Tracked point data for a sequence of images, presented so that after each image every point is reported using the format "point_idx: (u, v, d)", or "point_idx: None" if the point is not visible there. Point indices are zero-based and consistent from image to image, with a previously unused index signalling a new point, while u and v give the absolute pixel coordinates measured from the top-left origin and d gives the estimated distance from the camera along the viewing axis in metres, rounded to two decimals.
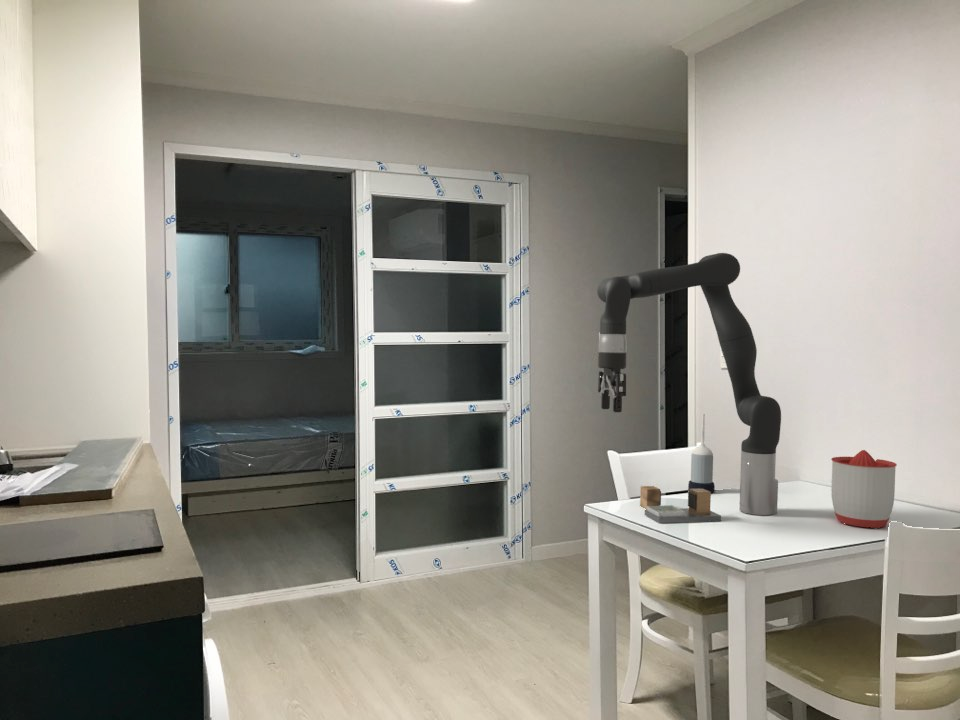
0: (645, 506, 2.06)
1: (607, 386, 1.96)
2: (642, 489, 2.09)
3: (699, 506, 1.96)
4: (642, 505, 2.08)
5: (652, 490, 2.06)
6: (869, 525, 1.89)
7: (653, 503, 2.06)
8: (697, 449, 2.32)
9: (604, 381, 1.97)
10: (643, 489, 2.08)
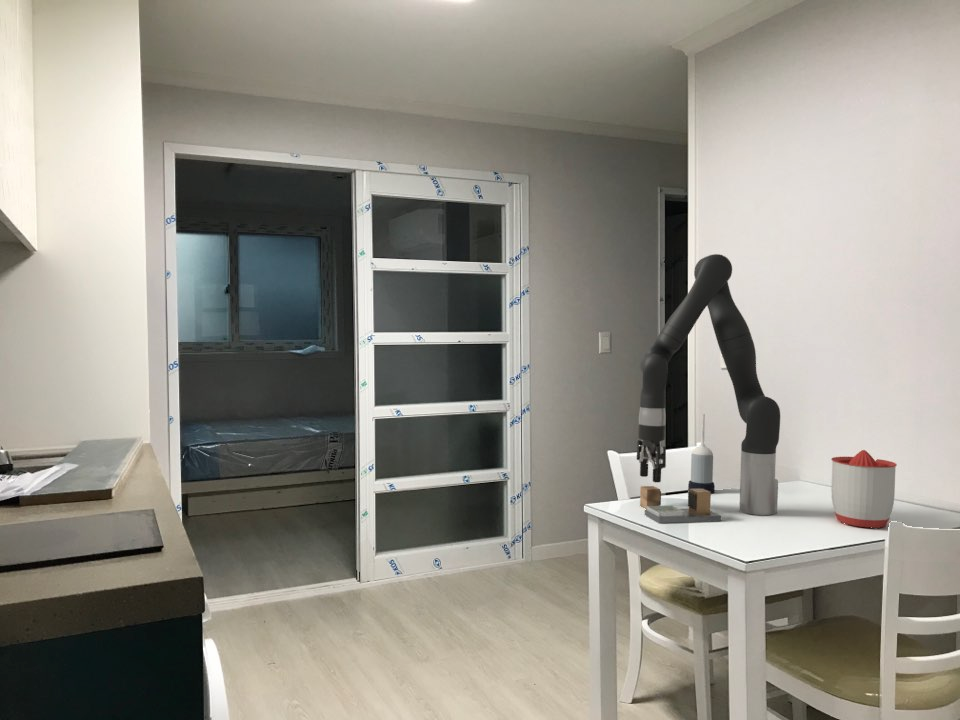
0: (645, 506, 2.06)
1: (646, 456, 2.08)
2: (642, 489, 2.09)
3: (699, 506, 1.96)
4: (642, 505, 2.08)
5: (652, 490, 2.06)
6: (869, 525, 1.89)
7: (653, 503, 2.06)
8: (697, 449, 2.32)
9: (643, 451, 2.09)
10: (643, 489, 2.08)
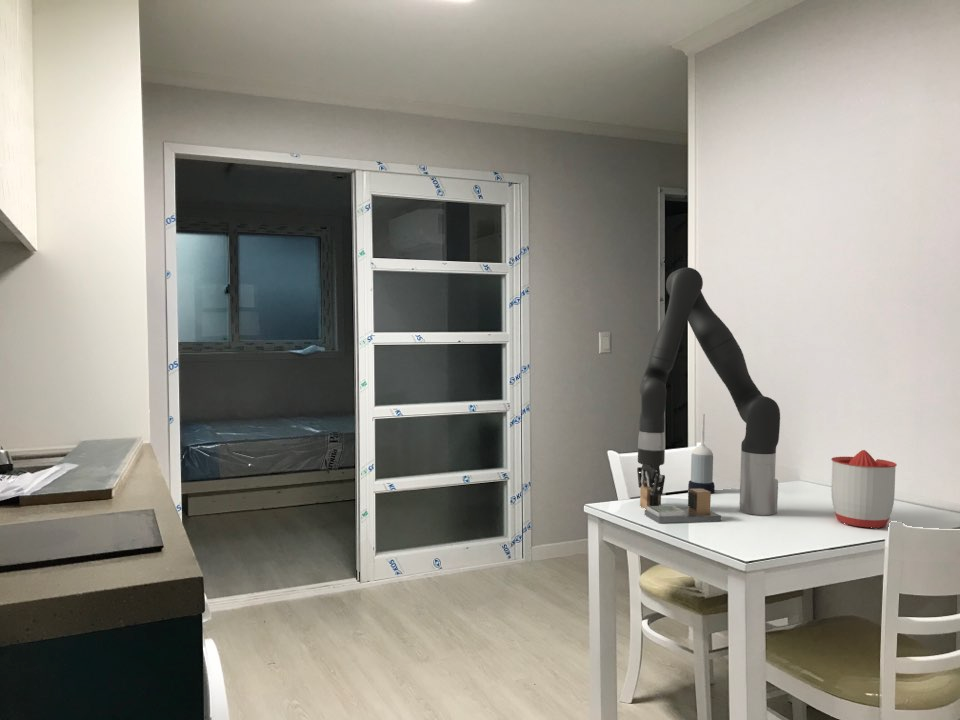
0: (645, 506, 2.06)
1: (646, 480, 2.08)
2: (642, 489, 2.08)
3: (699, 506, 1.96)
4: (642, 505, 2.08)
5: None
6: (869, 525, 1.89)
7: None
8: (697, 449, 2.32)
9: (644, 475, 2.09)
10: (643, 489, 2.08)
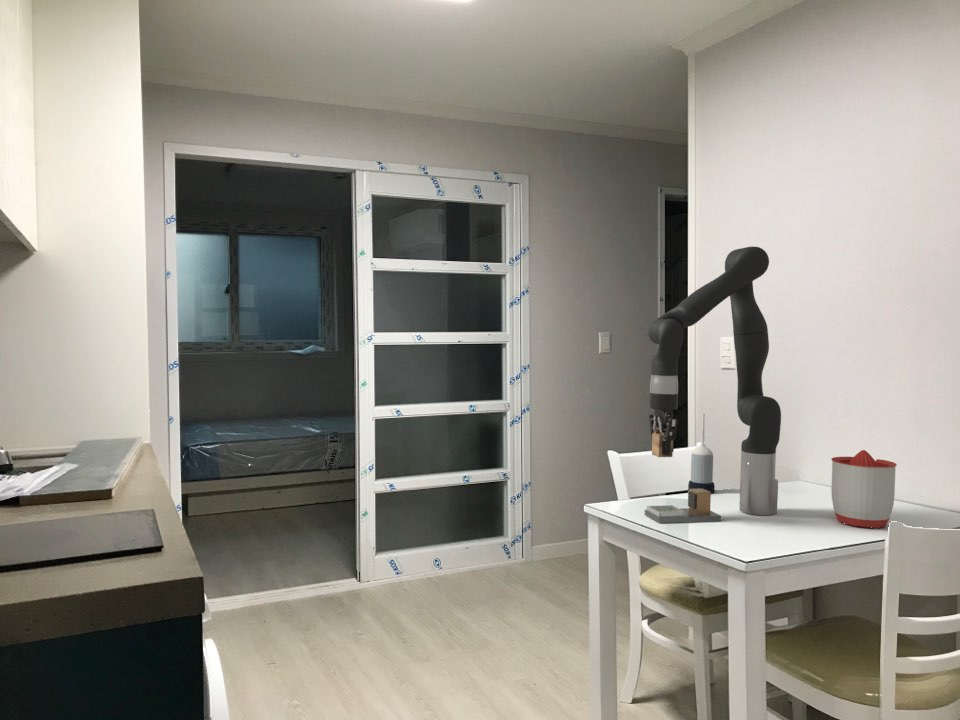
0: (657, 453, 1.97)
1: (658, 426, 1.99)
2: (654, 436, 1.99)
3: (699, 506, 1.96)
4: (654, 452, 1.99)
5: None
6: (869, 525, 1.89)
7: None
8: (697, 449, 2.32)
9: (656, 421, 2.00)
10: (655, 435, 1.99)
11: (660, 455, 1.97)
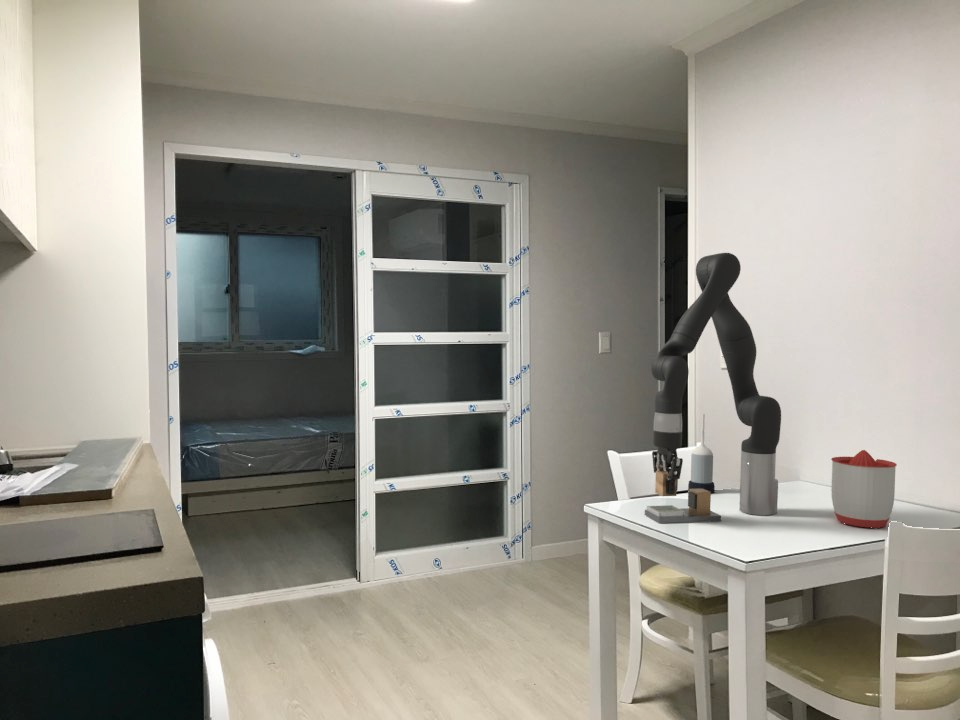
0: (661, 492, 1.94)
1: (662, 464, 1.96)
2: (657, 474, 1.96)
3: (699, 506, 1.96)
4: (657, 491, 1.96)
5: None
6: (869, 525, 1.89)
7: None
8: (697, 449, 2.32)
9: (659, 459, 1.96)
10: (659, 474, 1.96)
11: (664, 494, 1.93)
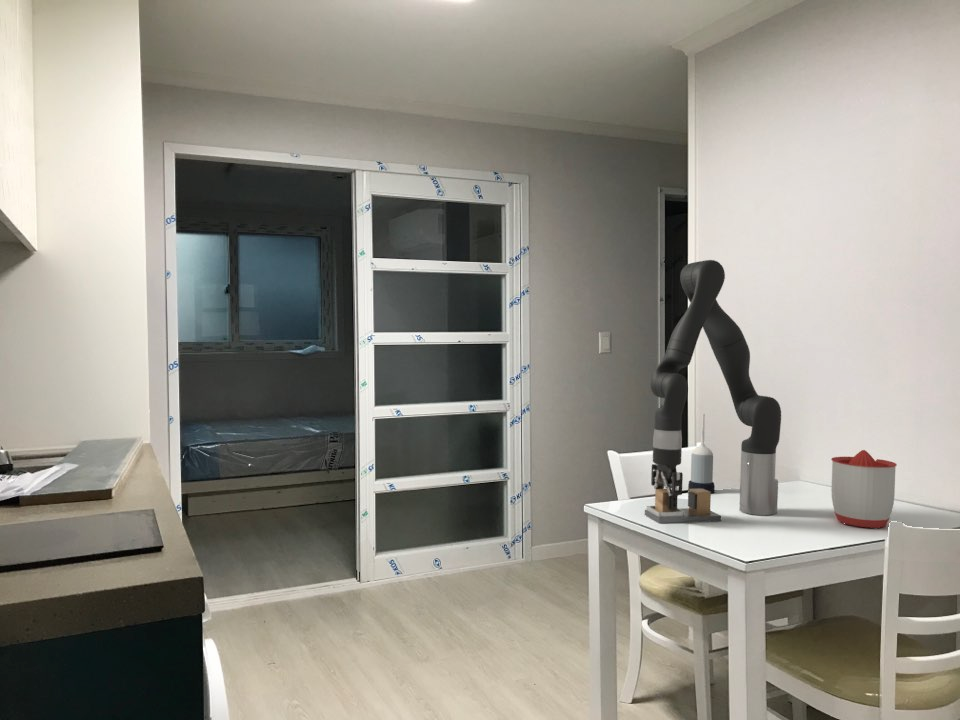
0: (660, 510, 1.94)
1: (662, 481, 1.96)
2: (657, 492, 1.96)
3: (699, 506, 1.96)
4: (657, 509, 1.96)
5: None
6: (869, 525, 1.89)
7: None
8: (697, 449, 2.32)
9: (658, 476, 1.97)
10: (658, 492, 1.96)
11: None
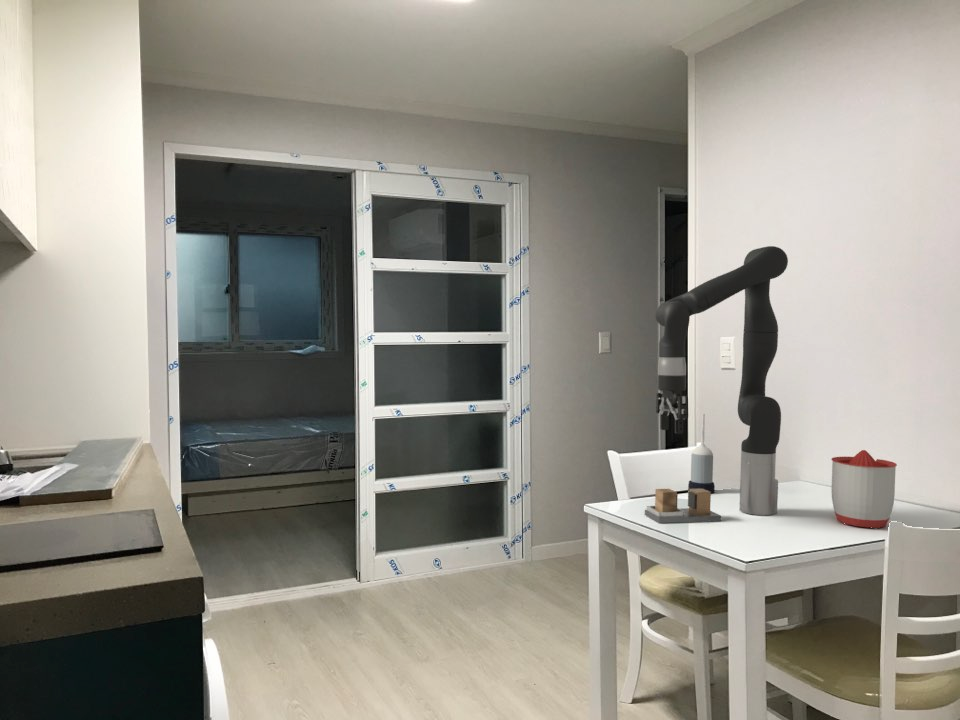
0: (660, 510, 1.94)
1: (667, 408, 2.01)
2: (657, 492, 1.96)
3: (699, 506, 1.96)
4: (657, 509, 1.96)
5: (668, 493, 1.94)
6: (869, 525, 1.89)
7: (669, 506, 1.94)
8: (697, 449, 2.32)
9: (664, 403, 2.02)
10: (658, 492, 1.96)
11: None
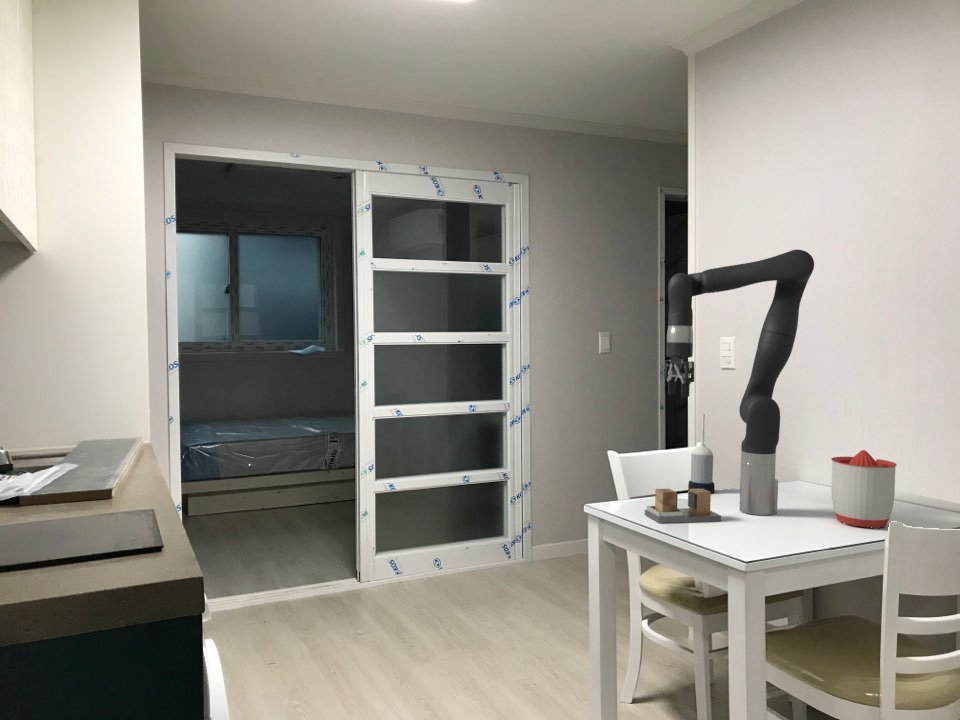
0: (660, 510, 1.94)
1: (675, 373, 2.15)
2: (657, 492, 1.96)
3: (699, 506, 1.96)
4: (657, 509, 1.96)
5: (668, 493, 1.94)
6: (869, 525, 1.89)
7: (669, 506, 1.94)
8: (697, 449, 2.32)
9: (672, 369, 2.16)
10: (658, 492, 1.96)
11: None
